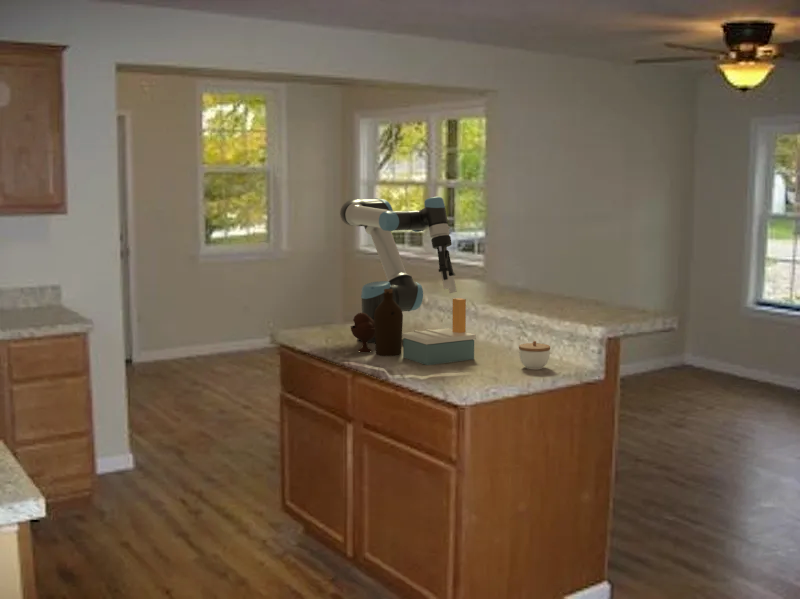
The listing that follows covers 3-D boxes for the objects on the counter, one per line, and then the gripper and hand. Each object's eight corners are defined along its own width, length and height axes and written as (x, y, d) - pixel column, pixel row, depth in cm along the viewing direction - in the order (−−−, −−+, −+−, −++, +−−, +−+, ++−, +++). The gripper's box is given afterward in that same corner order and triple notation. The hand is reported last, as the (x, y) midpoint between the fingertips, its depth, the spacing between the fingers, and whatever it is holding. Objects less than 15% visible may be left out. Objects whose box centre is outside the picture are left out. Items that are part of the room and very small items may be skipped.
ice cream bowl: (375, 354, 335) (375, 314, 333) (347, 353, 338) (346, 314, 336) (382, 349, 346) (381, 310, 344) (354, 348, 348) (353, 310, 346)
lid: (402, 337, 324) (402, 300, 322) (449, 332, 334) (449, 296, 332) (426, 344, 310) (426, 305, 308) (475, 339, 320) (475, 301, 318)
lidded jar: (531, 363, 319) (532, 337, 317) (556, 367, 311) (556, 341, 310) (512, 367, 311) (512, 341, 310) (536, 372, 304) (537, 345, 302)
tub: (403, 360, 325) (403, 338, 324) (449, 354, 335) (449, 333, 334) (426, 367, 311) (426, 345, 310) (474, 361, 321) (474, 339, 320)
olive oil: (408, 355, 333) (408, 288, 329) (389, 360, 325) (389, 291, 321) (387, 352, 339) (387, 286, 336) (368, 356, 331) (367, 289, 328)
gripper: (444, 229, 333) (455, 284, 330) (454, 240, 357) (464, 292, 354) (425, 233, 334) (435, 288, 331) (436, 244, 359) (446, 295, 356)
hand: (450, 290), depth 343 cm, fingers open, 13 cm apart
